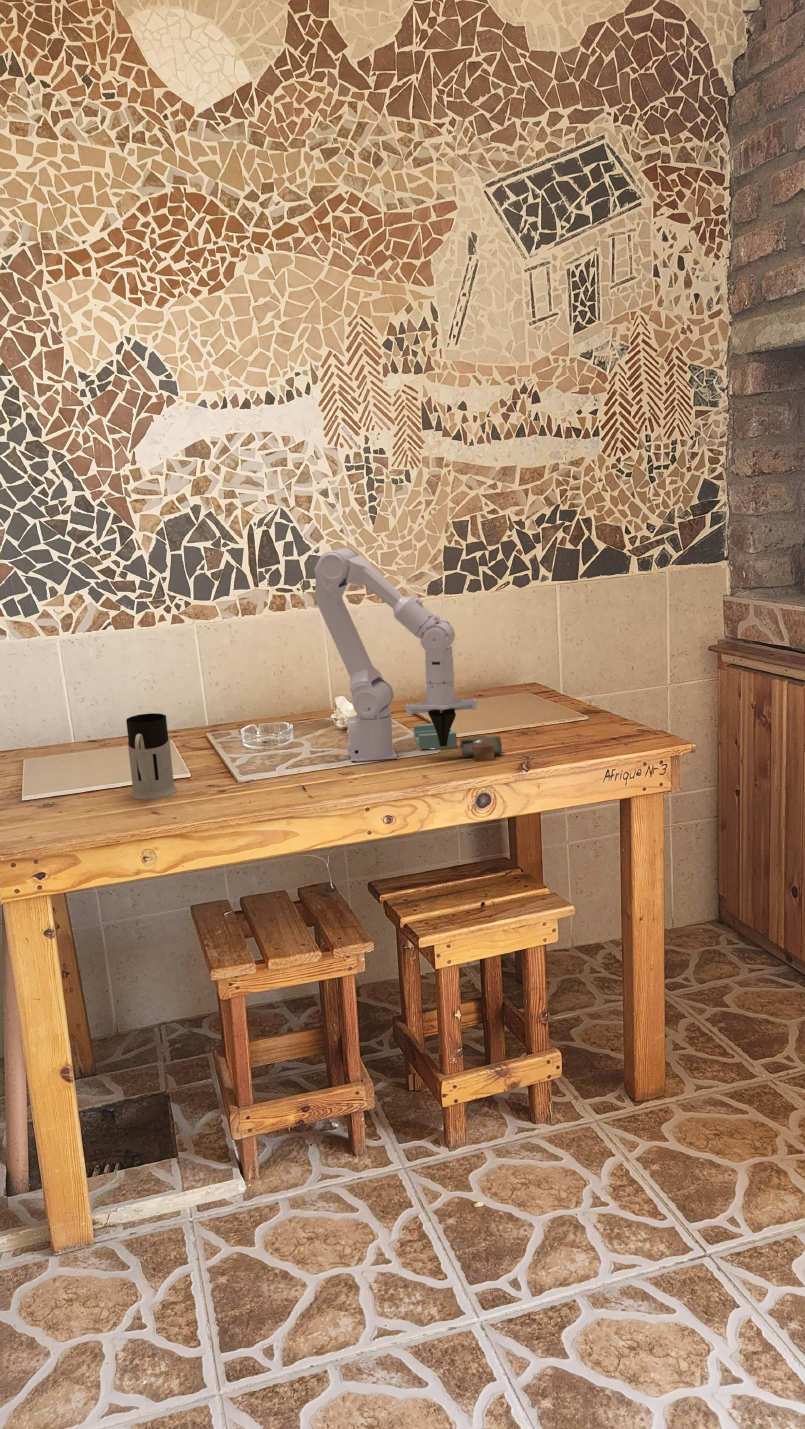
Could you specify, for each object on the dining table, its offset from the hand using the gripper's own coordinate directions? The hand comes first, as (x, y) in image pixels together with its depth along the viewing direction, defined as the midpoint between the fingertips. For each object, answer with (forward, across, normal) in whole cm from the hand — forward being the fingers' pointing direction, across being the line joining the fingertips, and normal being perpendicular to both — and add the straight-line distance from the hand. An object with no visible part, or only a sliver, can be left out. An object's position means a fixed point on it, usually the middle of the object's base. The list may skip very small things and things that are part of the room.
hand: (443, 745), depth 224 cm
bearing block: (+3, +8, 0) cm, 8 cm away
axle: (+3, +8, 0) cm, 8 cm away
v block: (+3, 0, +12) cm, 12 cm away
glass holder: (+3, -59, -12) cm, 60 cm away
